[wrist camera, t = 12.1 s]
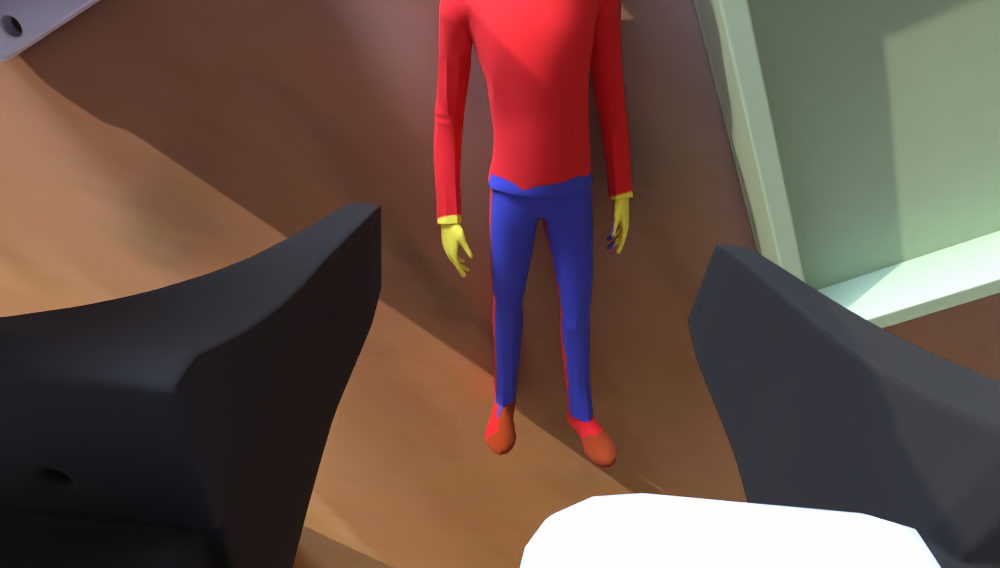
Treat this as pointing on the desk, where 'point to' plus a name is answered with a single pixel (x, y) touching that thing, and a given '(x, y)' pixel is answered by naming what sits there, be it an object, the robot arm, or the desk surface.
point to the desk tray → (866, 144)
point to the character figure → (536, 172)
